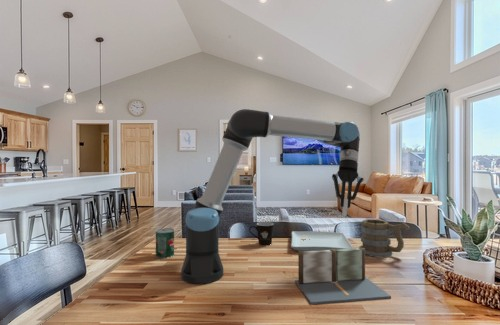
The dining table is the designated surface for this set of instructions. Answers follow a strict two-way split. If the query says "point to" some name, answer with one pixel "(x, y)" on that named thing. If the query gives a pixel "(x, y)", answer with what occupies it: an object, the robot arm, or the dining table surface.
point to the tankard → (380, 237)
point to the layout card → (341, 291)
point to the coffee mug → (264, 232)
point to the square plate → (319, 241)
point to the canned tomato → (164, 243)
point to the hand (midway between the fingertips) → (344, 215)
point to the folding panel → (350, 264)
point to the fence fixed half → (316, 266)
